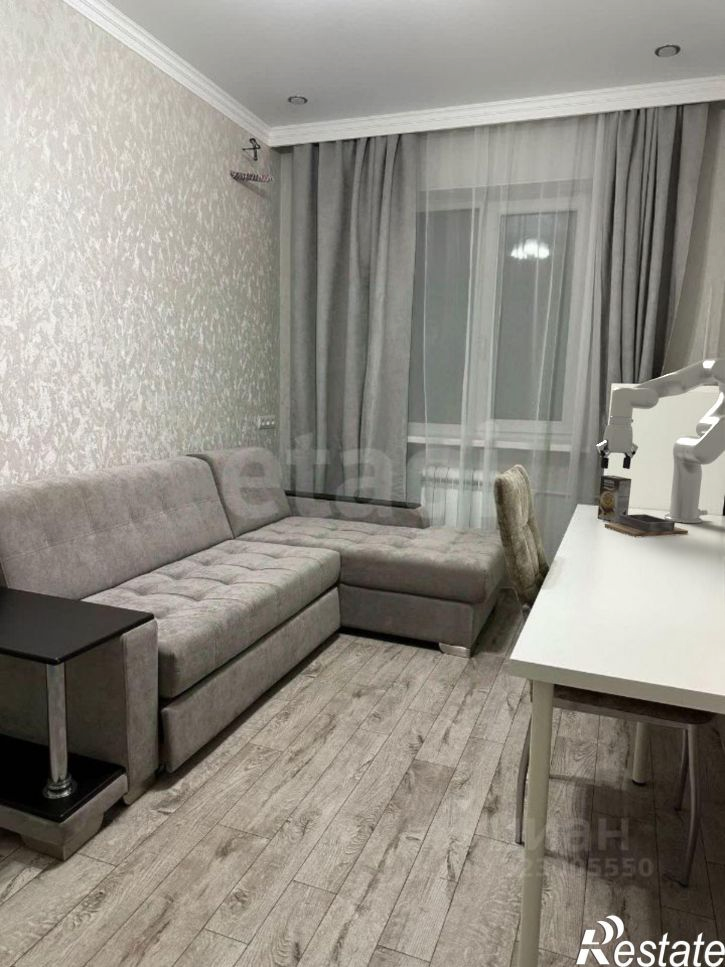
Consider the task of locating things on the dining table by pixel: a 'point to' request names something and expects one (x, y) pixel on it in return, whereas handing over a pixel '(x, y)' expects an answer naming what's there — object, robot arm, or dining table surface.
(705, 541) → the dining table surface
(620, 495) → the coffee box
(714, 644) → the dining table surface
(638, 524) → the slot board
